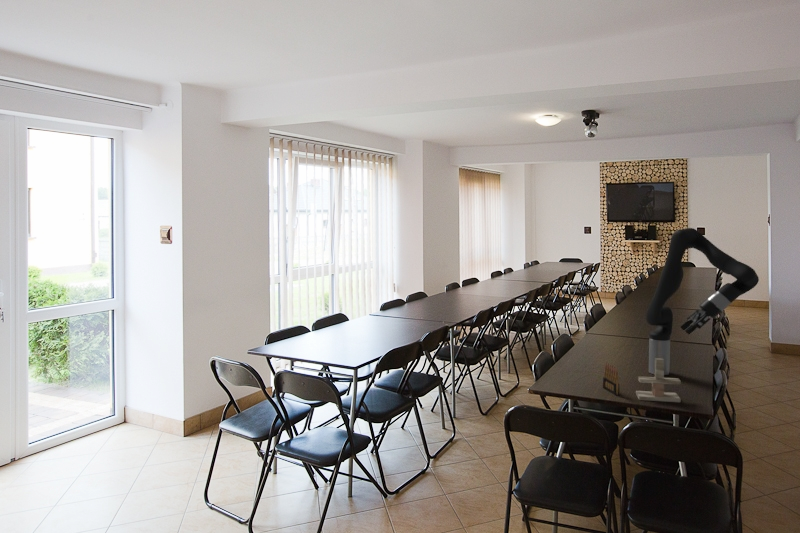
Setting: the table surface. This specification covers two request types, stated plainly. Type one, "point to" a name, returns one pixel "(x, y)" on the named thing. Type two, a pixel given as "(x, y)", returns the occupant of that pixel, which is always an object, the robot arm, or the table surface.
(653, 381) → the maple T-beam
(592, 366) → the table surface
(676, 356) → the table surface
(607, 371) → the ammunition clip
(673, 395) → the stand
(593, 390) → the table surface
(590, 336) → the table surface
